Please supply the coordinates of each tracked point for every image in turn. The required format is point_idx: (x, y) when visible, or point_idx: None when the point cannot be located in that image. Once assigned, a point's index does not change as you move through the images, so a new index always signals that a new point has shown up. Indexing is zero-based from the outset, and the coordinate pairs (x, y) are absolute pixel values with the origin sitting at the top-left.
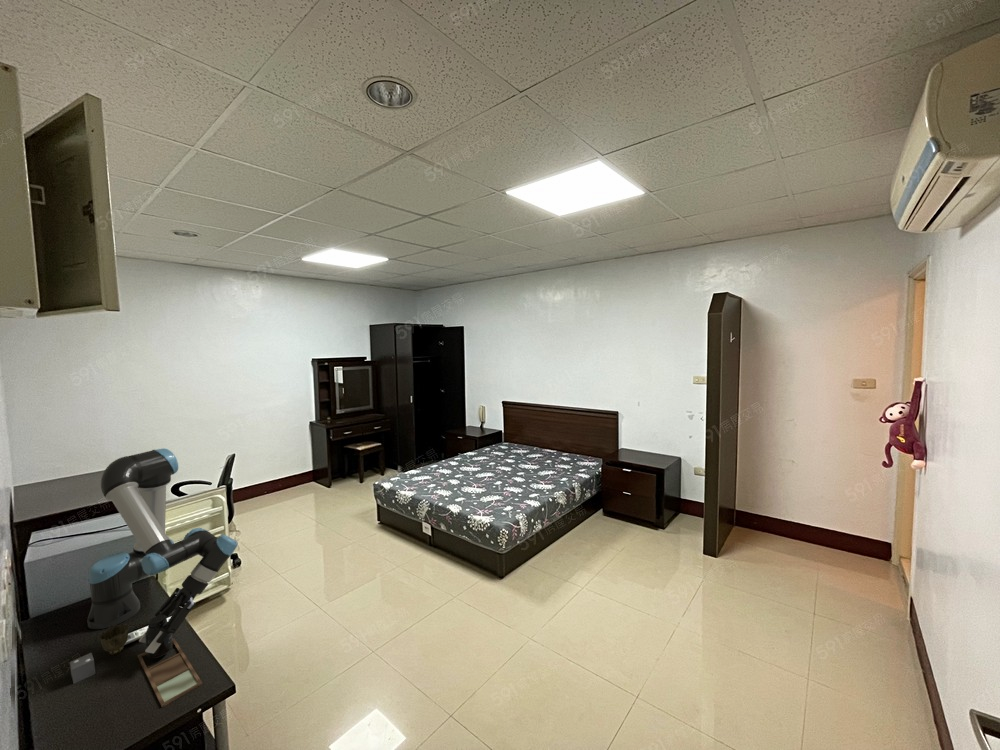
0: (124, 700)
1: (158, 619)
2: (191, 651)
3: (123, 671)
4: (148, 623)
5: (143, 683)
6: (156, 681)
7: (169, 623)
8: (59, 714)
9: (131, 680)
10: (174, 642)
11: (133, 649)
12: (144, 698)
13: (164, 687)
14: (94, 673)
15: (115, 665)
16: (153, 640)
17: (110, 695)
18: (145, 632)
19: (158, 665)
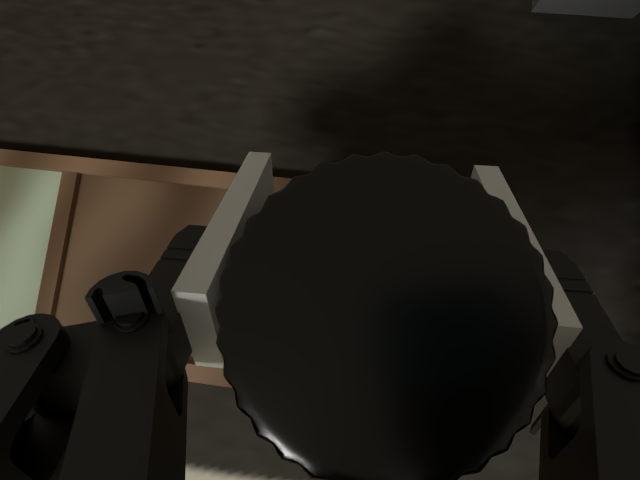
0: (131, 49)
1: (349, 328)
2: (208, 426)
3: (399, 110)
4: (408, 158)
5: (176, 144)
6: (112, 187)
7: (74, 418)
8: None
9: (267, 113)
10: None
11: (598, 211)
12: (48, 111)
13: (24, 197)
14: (534, 5)
15: (510, 97)
16: (237, 206)
17: (241, 17)
18: (516, 213)
19: None
